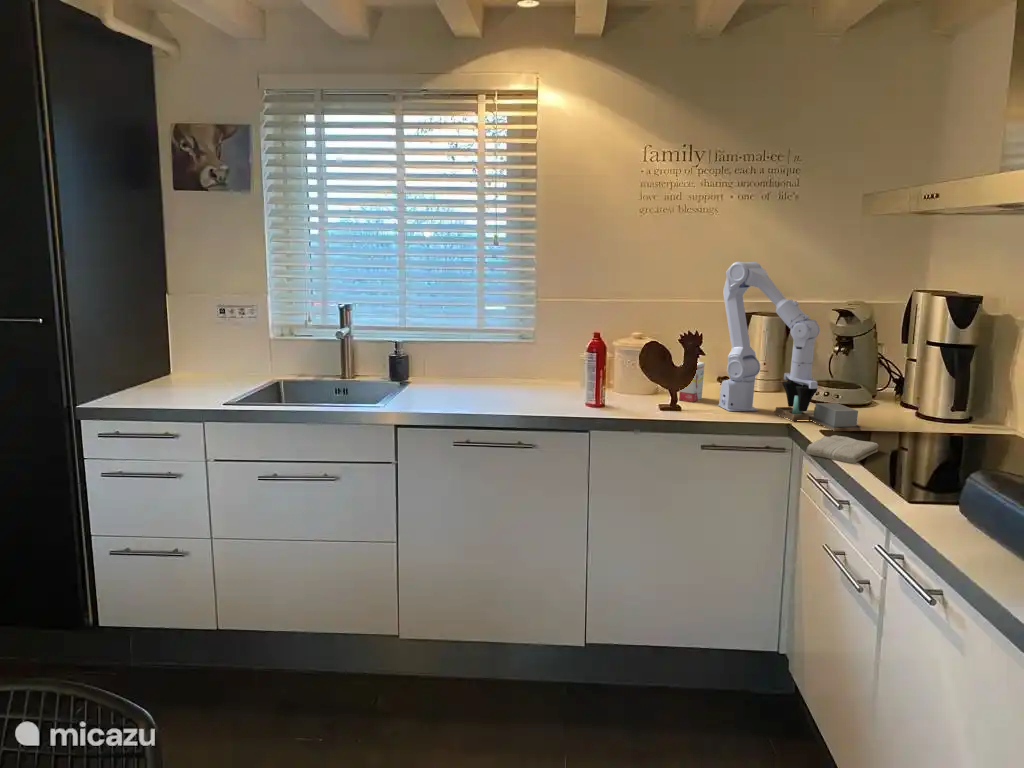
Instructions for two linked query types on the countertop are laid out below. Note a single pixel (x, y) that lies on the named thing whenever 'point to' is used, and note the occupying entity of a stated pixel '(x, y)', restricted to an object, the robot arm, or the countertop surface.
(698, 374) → the ink box
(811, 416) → the plate
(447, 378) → the countertop surface
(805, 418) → the build board
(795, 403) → the peg
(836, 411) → the grey rectangular block
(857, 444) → the washcloth
